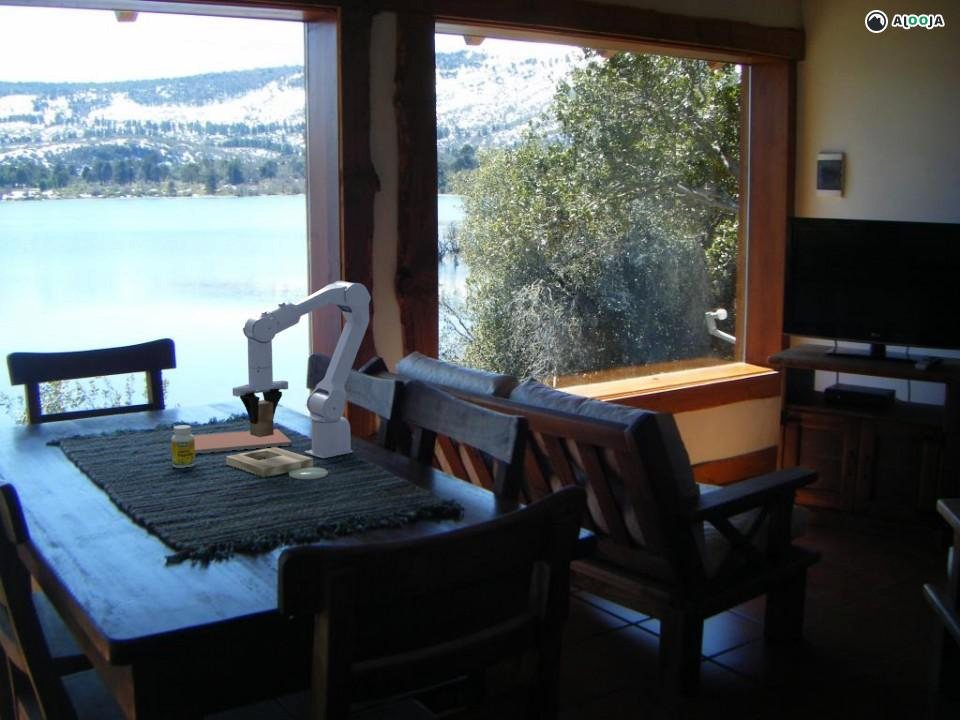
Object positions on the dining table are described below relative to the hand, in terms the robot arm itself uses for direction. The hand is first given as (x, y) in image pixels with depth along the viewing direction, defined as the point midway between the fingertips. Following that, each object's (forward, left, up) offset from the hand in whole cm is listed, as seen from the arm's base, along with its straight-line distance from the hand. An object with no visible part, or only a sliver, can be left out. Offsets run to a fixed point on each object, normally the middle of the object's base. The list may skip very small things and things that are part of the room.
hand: (261, 421), depth 254 cm
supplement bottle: (+15, -11, -10) cm, 21 cm away
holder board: (0, +3, -10) cm, 11 cm away
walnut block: (0, 0, -3) cm, 3 cm away
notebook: (-6, -23, -11) cm, 26 cm away
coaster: (-2, +16, -10) cm, 19 cm away
